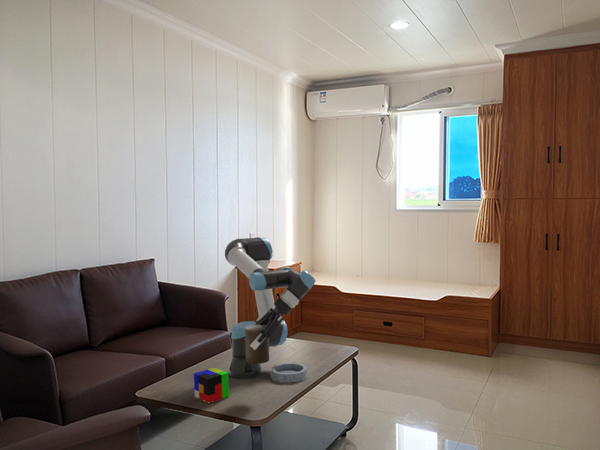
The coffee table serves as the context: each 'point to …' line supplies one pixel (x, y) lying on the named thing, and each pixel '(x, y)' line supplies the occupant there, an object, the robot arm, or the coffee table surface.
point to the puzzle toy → (211, 384)
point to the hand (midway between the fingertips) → (249, 344)
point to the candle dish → (289, 372)
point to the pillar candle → (261, 351)
